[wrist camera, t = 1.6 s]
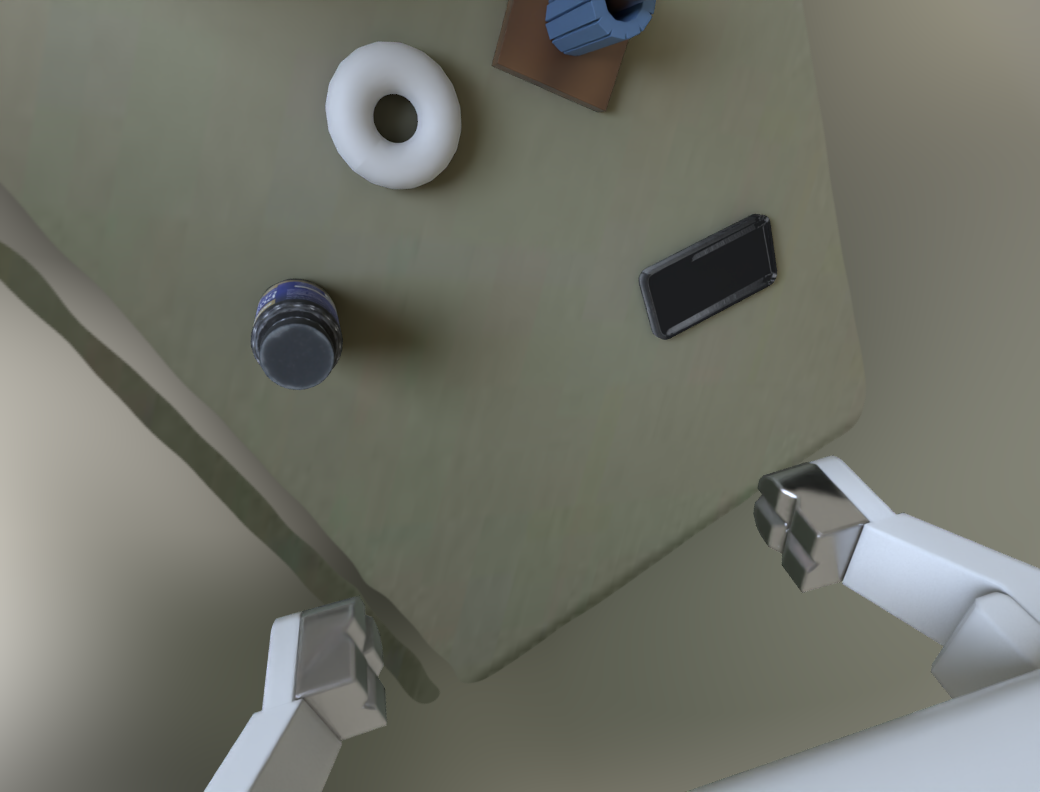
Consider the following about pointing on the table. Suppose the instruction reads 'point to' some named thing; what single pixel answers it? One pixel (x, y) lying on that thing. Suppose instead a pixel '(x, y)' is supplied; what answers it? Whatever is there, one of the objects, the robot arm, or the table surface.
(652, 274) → the phone
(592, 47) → the tube
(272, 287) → the pill bottle
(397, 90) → the donut
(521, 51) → the dowel stand
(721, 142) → the table surface
